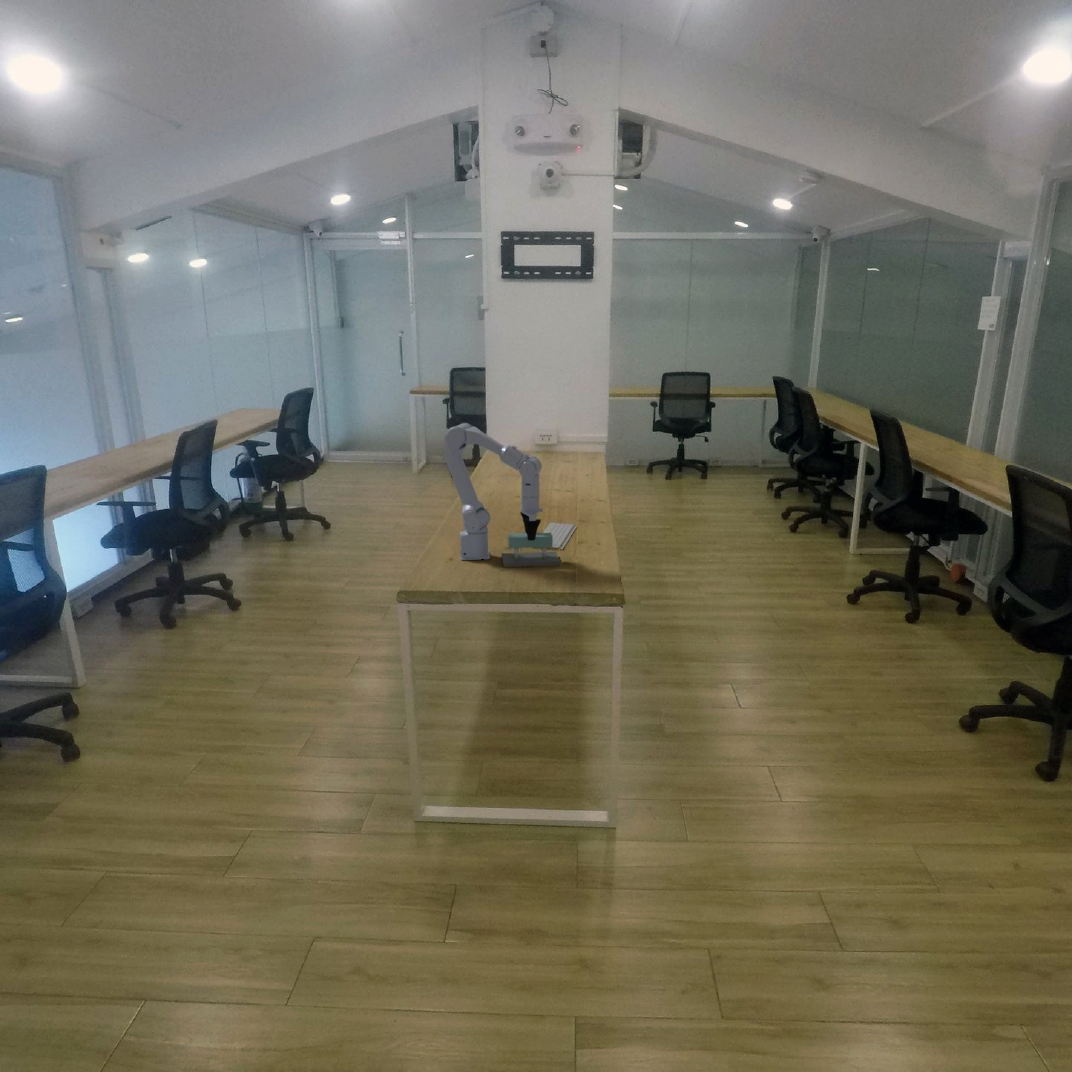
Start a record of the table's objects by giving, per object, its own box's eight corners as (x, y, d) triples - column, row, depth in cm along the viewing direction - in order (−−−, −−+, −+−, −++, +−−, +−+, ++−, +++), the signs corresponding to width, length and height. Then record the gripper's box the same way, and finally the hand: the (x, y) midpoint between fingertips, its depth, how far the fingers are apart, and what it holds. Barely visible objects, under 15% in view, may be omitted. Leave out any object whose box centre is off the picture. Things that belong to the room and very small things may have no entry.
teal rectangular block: (509, 548, 241) (509, 537, 240) (508, 544, 246) (508, 533, 245) (552, 547, 243) (552, 536, 242) (550, 542, 247) (550, 532, 246)
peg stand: (503, 567, 240) (503, 550, 238) (501, 557, 250) (501, 541, 248) (559, 565, 242) (559, 549, 240) (555, 556, 251) (555, 540, 250)
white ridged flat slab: (581, 528, 286) (550, 526, 289) (581, 521, 286) (550, 519, 288) (566, 552, 258) (532, 549, 260) (566, 544, 257) (532, 541, 259)
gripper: (545, 501, 233) (545, 542, 237) (540, 490, 247) (539, 530, 251) (522, 501, 232) (522, 543, 236) (518, 490, 246) (518, 530, 250)
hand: (530, 536), depth 243 cm, fingers open, 7 cm apart
